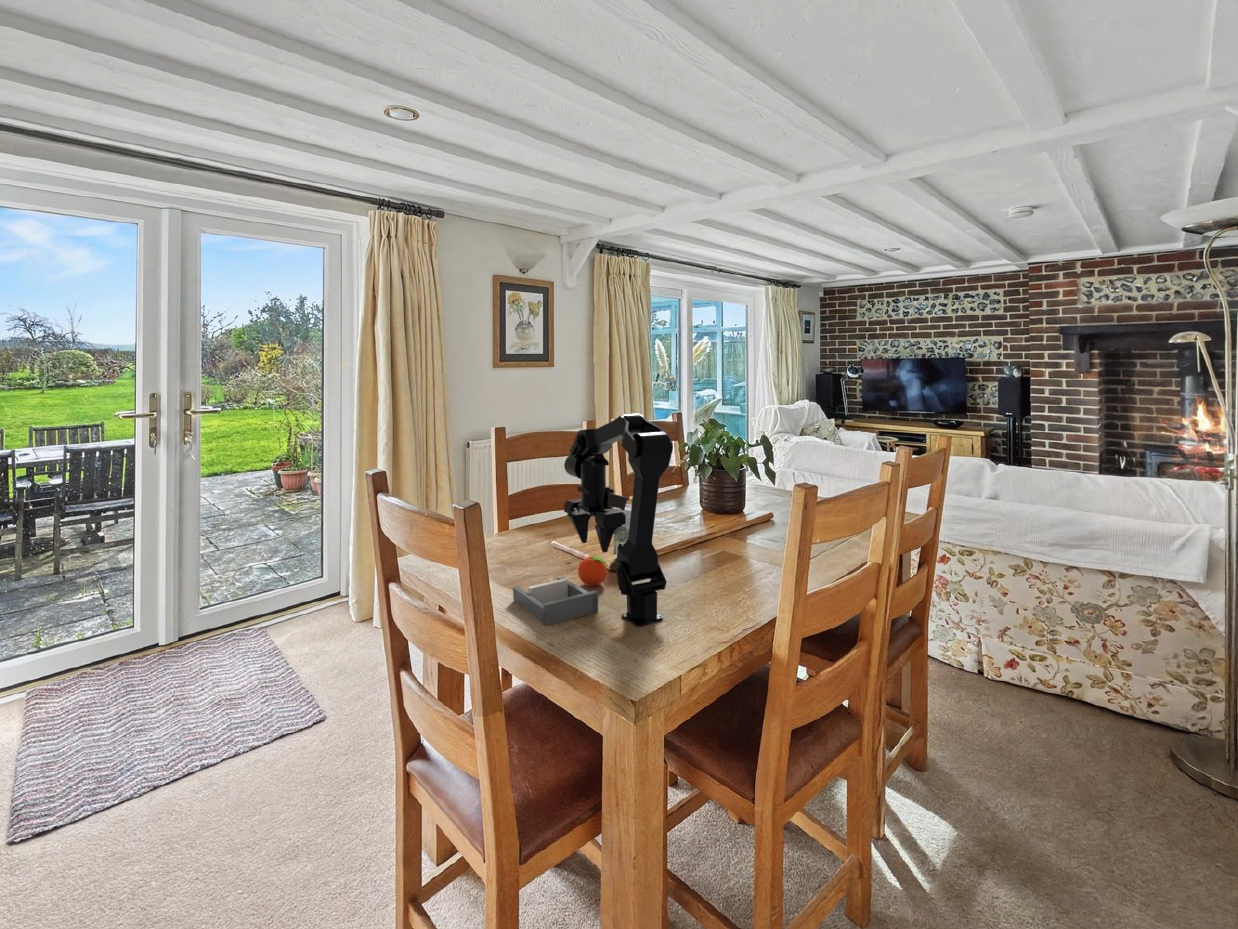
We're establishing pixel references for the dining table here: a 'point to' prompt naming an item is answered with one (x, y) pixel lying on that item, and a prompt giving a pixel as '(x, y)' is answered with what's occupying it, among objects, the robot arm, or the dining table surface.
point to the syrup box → (622, 529)
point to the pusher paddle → (549, 591)
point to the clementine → (592, 571)
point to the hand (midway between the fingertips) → (594, 547)
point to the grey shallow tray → (559, 604)
